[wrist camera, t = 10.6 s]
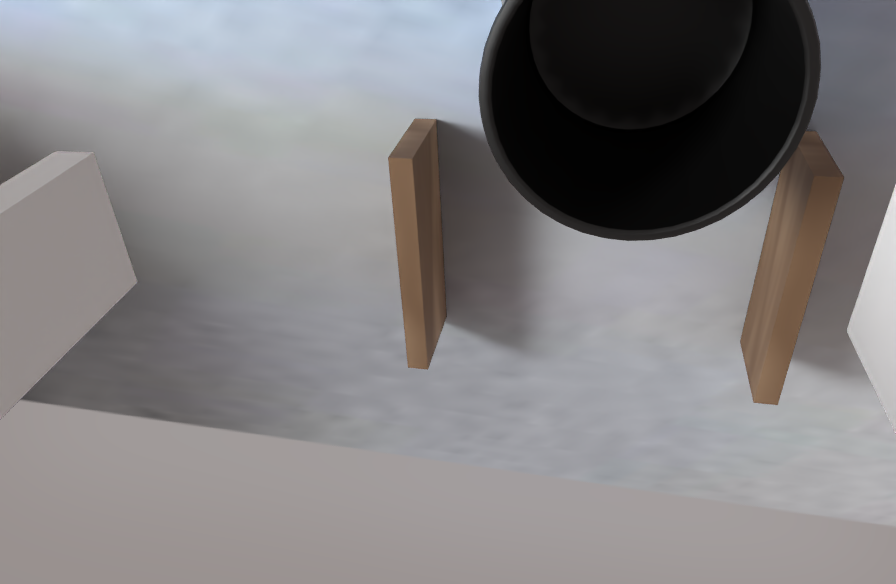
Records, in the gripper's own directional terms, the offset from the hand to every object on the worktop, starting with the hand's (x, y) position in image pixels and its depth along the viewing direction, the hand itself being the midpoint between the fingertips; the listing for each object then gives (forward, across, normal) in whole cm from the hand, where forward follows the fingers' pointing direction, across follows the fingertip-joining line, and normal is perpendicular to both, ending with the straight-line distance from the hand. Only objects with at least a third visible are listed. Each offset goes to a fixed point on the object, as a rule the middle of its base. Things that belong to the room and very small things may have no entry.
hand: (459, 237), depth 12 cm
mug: (+19, +4, 0) cm, 20 cm away
